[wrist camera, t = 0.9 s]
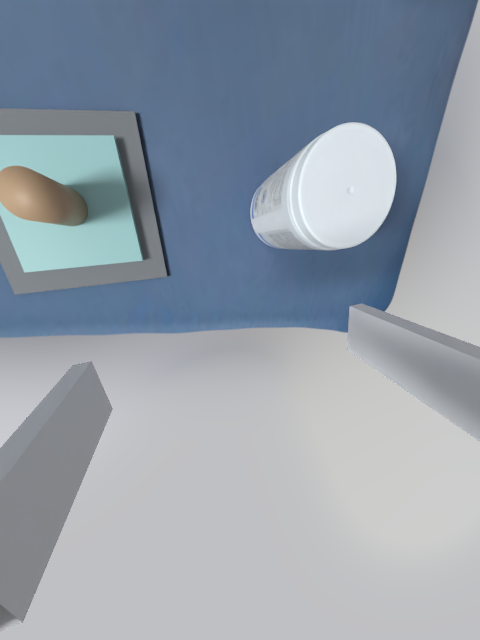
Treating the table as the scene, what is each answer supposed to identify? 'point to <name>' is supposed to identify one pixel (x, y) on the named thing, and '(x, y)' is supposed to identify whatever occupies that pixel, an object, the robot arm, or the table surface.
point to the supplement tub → (328, 192)
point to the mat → (137, 185)
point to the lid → (66, 201)
